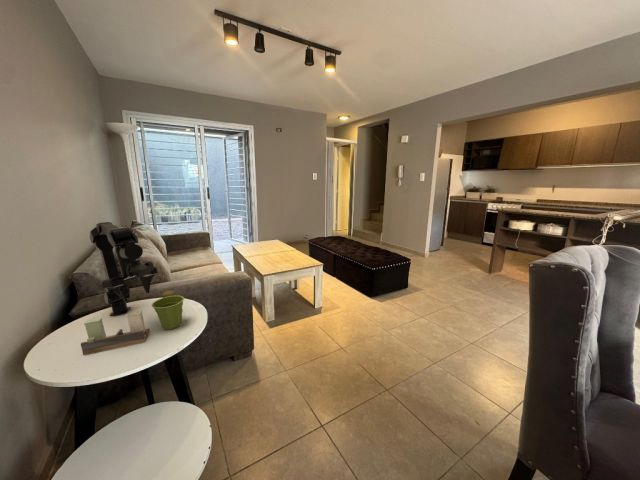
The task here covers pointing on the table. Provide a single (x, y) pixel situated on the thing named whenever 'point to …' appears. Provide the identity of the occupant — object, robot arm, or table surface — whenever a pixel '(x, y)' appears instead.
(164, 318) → the plant pot
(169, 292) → the cork
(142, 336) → the brown wooden rack
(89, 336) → the pale green tall block
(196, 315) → the table surface
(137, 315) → the beige rectangular block
